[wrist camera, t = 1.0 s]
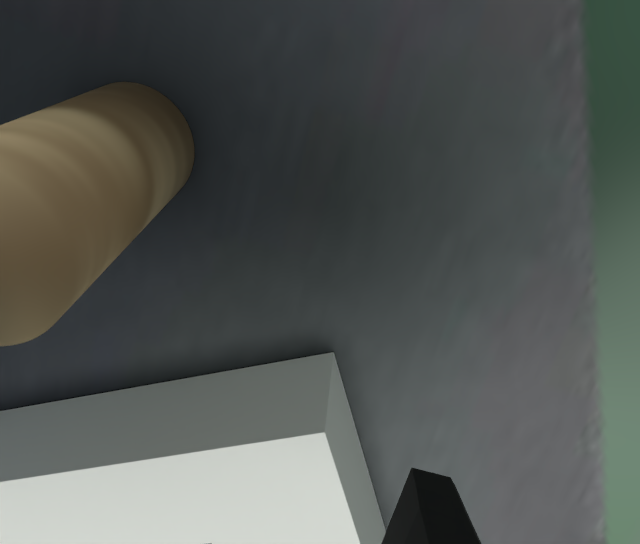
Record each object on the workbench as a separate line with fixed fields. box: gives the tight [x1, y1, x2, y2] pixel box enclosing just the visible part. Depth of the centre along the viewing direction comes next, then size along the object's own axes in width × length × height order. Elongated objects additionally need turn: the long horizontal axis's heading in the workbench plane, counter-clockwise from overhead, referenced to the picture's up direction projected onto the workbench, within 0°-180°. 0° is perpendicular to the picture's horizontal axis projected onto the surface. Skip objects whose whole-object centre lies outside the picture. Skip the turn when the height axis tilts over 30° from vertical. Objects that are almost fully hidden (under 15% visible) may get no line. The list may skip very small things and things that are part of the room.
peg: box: [0, 82, 195, 346], centre depth 14 cm, size 4×4×8 cm
